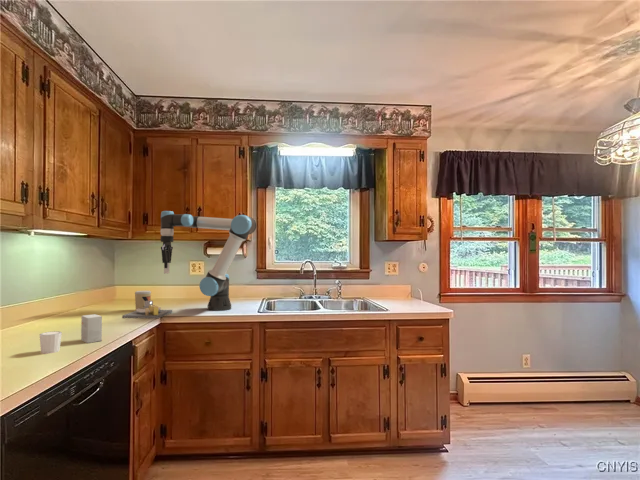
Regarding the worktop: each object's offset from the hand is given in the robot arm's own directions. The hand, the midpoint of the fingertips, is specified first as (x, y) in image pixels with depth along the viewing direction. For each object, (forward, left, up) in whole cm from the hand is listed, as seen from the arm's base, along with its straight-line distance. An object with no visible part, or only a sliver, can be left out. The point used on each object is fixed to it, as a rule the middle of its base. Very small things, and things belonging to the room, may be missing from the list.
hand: (166, 273), depth 233 cm
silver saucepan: (+2, +16, -22) cm, 27 cm away
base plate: (+4, +14, -24) cm, 28 cm away
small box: (0, +74, -24) cm, 78 cm away
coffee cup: (+15, -2, -24) cm, 28 cm away
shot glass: (+5, +91, -24) cm, 94 cm away
